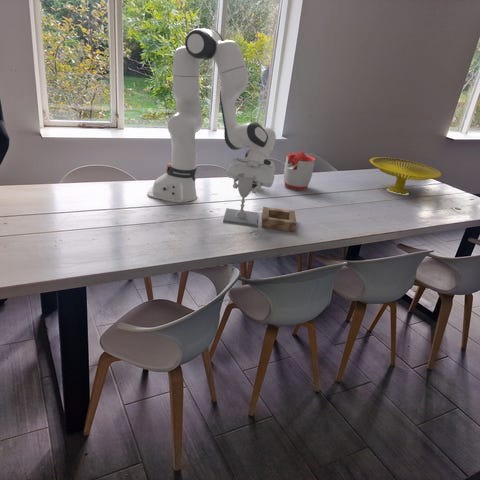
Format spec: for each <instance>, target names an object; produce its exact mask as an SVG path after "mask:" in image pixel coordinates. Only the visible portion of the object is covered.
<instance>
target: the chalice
mask: <svg viewBox="0 0 480 480" xmlns="http://www.w3.org/2000/svg"><path fill="white" fill-rule="evenodd" d="M244 174H245V173H240V174H238V177H239V179H238V181H237V184H238V187H237V189H238V193H239V196H240V197H241V201H240V202H241V204H240V209H237V210H238V211H237V213H236V215H235V216H236V217H238V218H247V215H246V212H245V211H246V210H244V208H245V199H246V198H248V196H249V194H251V192H252V189H253V188H252V186H253V179H254V178H255V176H254V177H253V178H243V175H244Z"/></svg>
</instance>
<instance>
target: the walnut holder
mask: <svg viewBox="0 0 480 480" xmlns="http://www.w3.org/2000/svg"><path fill="white" fill-rule="evenodd" d="M260 226H261V228H262V229H263V228H264V229H268V230H277V231H285V232H293V233H295V232H296V228H297V218H296V211H295V210H290V209H289V210H288V209H282V208H275V207H274V208H273V207H268V206H263V208H262V212H261V225H260Z"/></svg>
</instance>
